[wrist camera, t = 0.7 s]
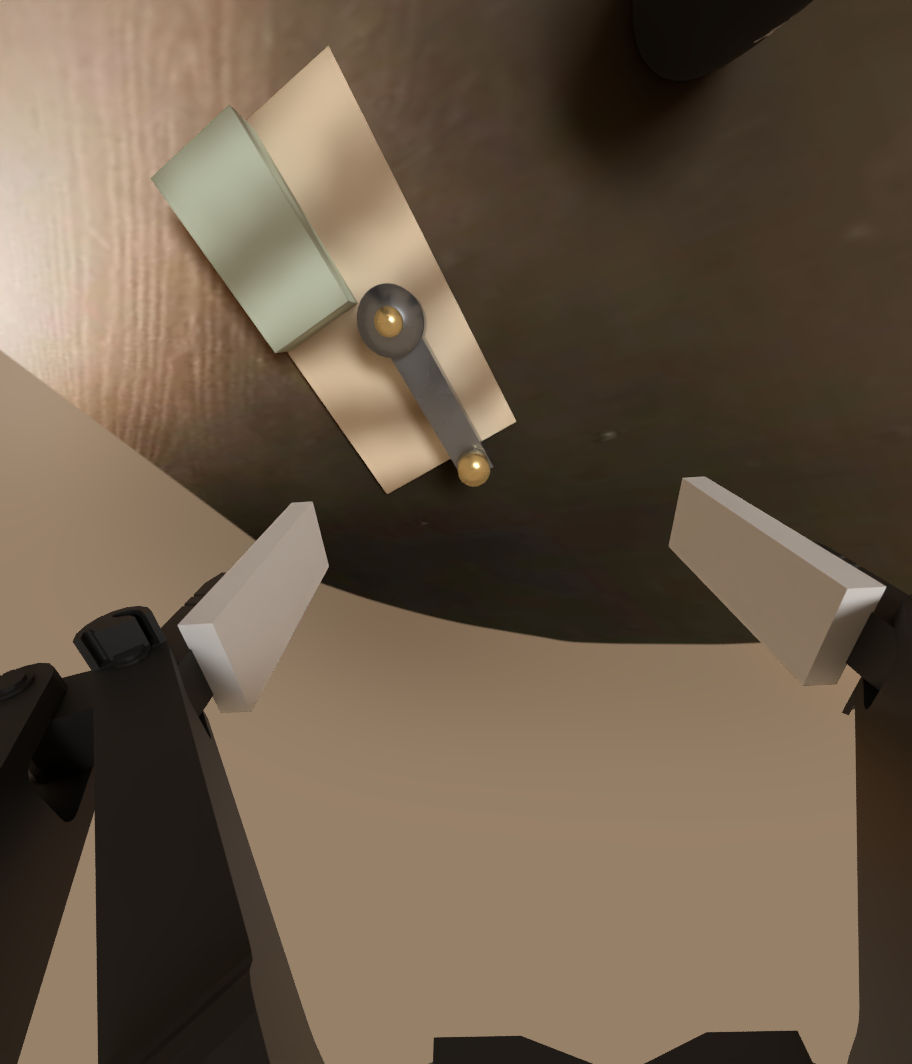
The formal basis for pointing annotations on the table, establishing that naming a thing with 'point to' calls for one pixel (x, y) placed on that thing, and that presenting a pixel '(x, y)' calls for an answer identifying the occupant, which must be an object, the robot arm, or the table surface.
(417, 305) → the latch bar
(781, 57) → the table surface
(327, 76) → the board
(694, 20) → the mug
